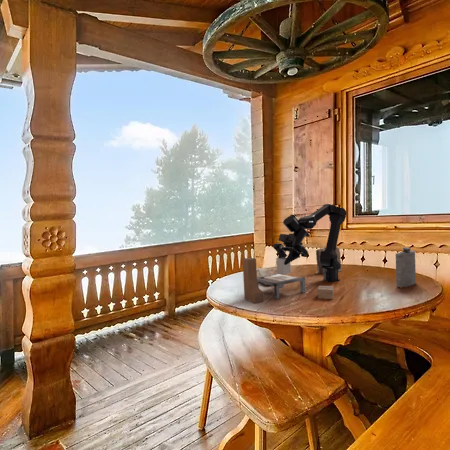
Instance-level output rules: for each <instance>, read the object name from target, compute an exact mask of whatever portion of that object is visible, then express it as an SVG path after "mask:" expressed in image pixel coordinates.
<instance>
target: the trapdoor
mask: <svg viewBox="0 0 450 450" xmlns="http://www.w3.org/2000/svg"><path fill="white" fill-rule="evenodd" d="M276 274H277V273H276ZM271 275H272V274H271ZM266 276H267V275H266ZM294 278H297V277H296V276H291V275H287V274H283V275H281V274H277V275H272V276H267V277H264V278H263V279H265V280H269V281H273V282H280V281H285V280H290V279H294ZM260 283H261V284H264V285H265V284H266V283H262V282H260ZM266 286H271V287H274V285H270V284H267V285H266ZM279 288H282V287H281V285H279Z"/></svg>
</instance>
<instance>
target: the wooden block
mask: <svg viewBox="0 0 450 450" xmlns="http://www.w3.org/2000/svg"><path fill="white" fill-rule="evenodd" d="M257 270H258V269H257V258H253V257H246V258H242V275H243V276H242V277H243V278H242V279H243V294H244V295H243V296H244V300H246V299H247V300H246V301H248V300H249V301H248V302H250V303H253V304H259V303H264V300H265V298H264V291H263V290H261V289H260V287H258V285H259V283H258V284H257Z"/></svg>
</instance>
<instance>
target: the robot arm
mask: <svg viewBox="0 0 450 450" xmlns="http://www.w3.org/2000/svg"><path fill="white" fill-rule="evenodd" d="M325 216H329V217H328V218H329V221H330V227H329V232H328V237H327V239H326V240H327V241H326V245H325V248H326V249H325V250H324V251H321V254H320V263H321V267H322V268H324V274H323V278H322V280H324V281H327V282H339V281H341V279H340V278H339V272H338V270H339V269H340V268H341V266H342V263H341V264H340V263H339V262H338V261H337V254H336V246H337V244H338V240H339V234H340V230H341V225H342V224H343V223H344V222H345V220H346V218H347V210H346V209H345V208H344V207H341V206H337V205H334V204H332V203H325V204H323V205H322V206H320V208H318V209H317V210H315V211H313V212H312V213H311V214H309V215H304V216H302V217H300V218H297V217H296V215H295V214H290V215H289V216H287V217H286V218H284V219H283V222H282V224H283V225H284V227H286V229H287V230H288V231H289V233H288V234H286V233H280V234H279V237H278V241H279V242H282V243H279V242H278V243H277V242H275V243H274V244H273V246H272V248H273V249H274V250H275V252H277V253H278V254H277V255H278V256H277V258H283V257H284V258H286V260H285V263H284V264H285V265H287V264H288V263H290V264H291V263H292V262H293V261H295V260H297V259H299V258H301V257H302V258H307V256H308V254H309V251H308V249H306V247H305V246H304V245H303V244H304V243H303V241H304V239H305V238H309V237H310V233H309V231H308V230H312V229H314V227H316V225H317V222H318V221H320V220H321V219H323V218H324V217H325ZM287 252H288V254H287Z"/></svg>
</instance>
